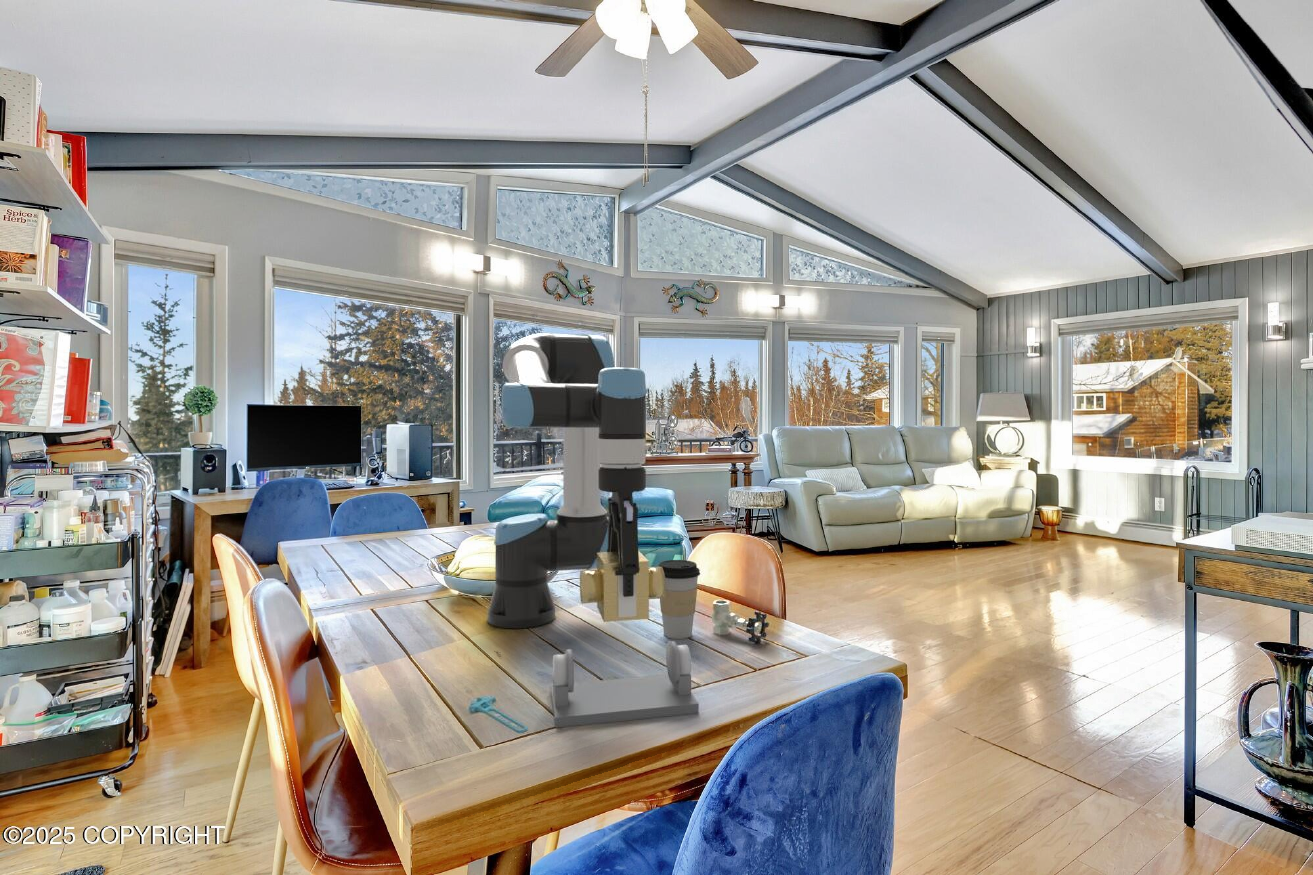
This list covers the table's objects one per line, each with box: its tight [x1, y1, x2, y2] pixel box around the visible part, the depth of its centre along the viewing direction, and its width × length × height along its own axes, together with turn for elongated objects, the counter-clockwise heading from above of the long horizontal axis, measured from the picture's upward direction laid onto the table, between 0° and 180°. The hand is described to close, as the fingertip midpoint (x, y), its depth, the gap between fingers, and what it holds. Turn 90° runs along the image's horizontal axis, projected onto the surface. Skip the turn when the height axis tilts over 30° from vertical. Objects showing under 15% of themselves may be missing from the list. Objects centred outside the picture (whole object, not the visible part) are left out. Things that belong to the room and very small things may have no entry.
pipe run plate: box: [550, 640, 700, 729], centre depth 103 cm, size 12×22×9 cm, turn 103°
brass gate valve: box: [579, 550, 665, 623], centre depth 103 cm, size 8×13×9 cm, turn 103°
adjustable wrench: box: [468, 696, 528, 733], centre depth 99 cm, size 14×1×5 cm
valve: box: [711, 599, 770, 645], centre depth 135 cm, size 7×7×12 cm
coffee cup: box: [658, 559, 701, 640], centre depth 136 cm, size 9×9×15 cm
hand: (622, 607), depth 103 cm, fingers closed on brass gate valve, 8 cm apart
